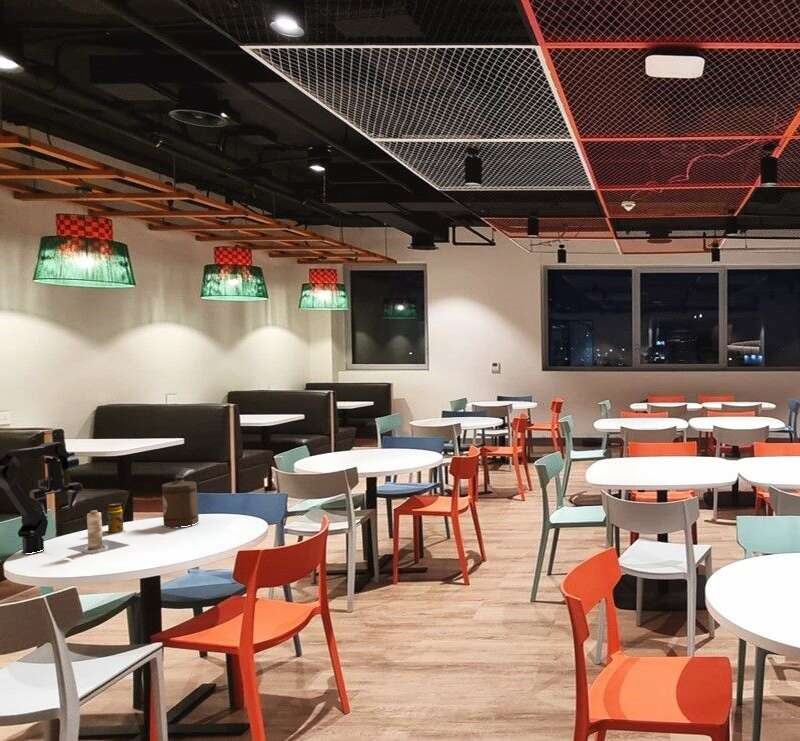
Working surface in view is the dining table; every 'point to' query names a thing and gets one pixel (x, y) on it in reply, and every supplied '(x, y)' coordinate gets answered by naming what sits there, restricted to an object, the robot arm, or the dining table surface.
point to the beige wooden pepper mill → (94, 530)
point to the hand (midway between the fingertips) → (58, 511)
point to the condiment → (114, 519)
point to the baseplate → (106, 547)
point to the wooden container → (180, 503)
